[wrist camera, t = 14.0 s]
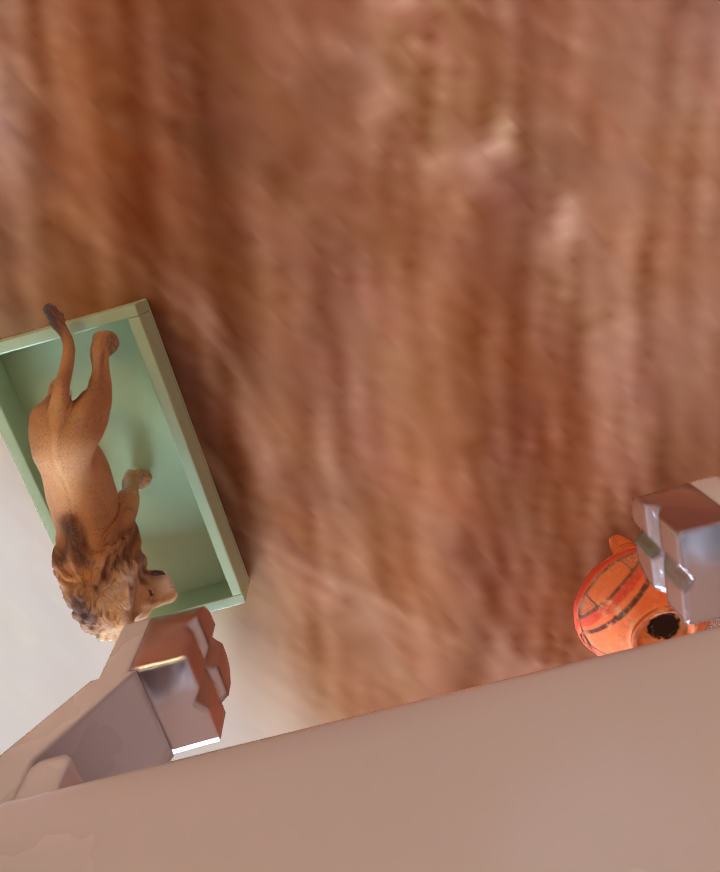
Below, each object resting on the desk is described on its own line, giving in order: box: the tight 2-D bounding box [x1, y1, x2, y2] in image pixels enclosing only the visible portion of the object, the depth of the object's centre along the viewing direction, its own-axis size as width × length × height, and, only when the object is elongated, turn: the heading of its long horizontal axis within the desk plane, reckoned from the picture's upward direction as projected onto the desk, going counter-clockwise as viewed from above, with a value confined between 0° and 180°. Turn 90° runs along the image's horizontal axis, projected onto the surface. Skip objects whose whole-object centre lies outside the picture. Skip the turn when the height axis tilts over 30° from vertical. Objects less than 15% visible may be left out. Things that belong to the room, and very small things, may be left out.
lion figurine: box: [28, 303, 178, 643], centre depth 31 cm, size 15×5×9 cm, turn 11°
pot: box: [574, 534, 710, 656], centre depth 38 cm, size 8×8×7 cm
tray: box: [0, 299, 250, 642], centre depth 36 cm, size 17×9×2 cm, turn 15°
